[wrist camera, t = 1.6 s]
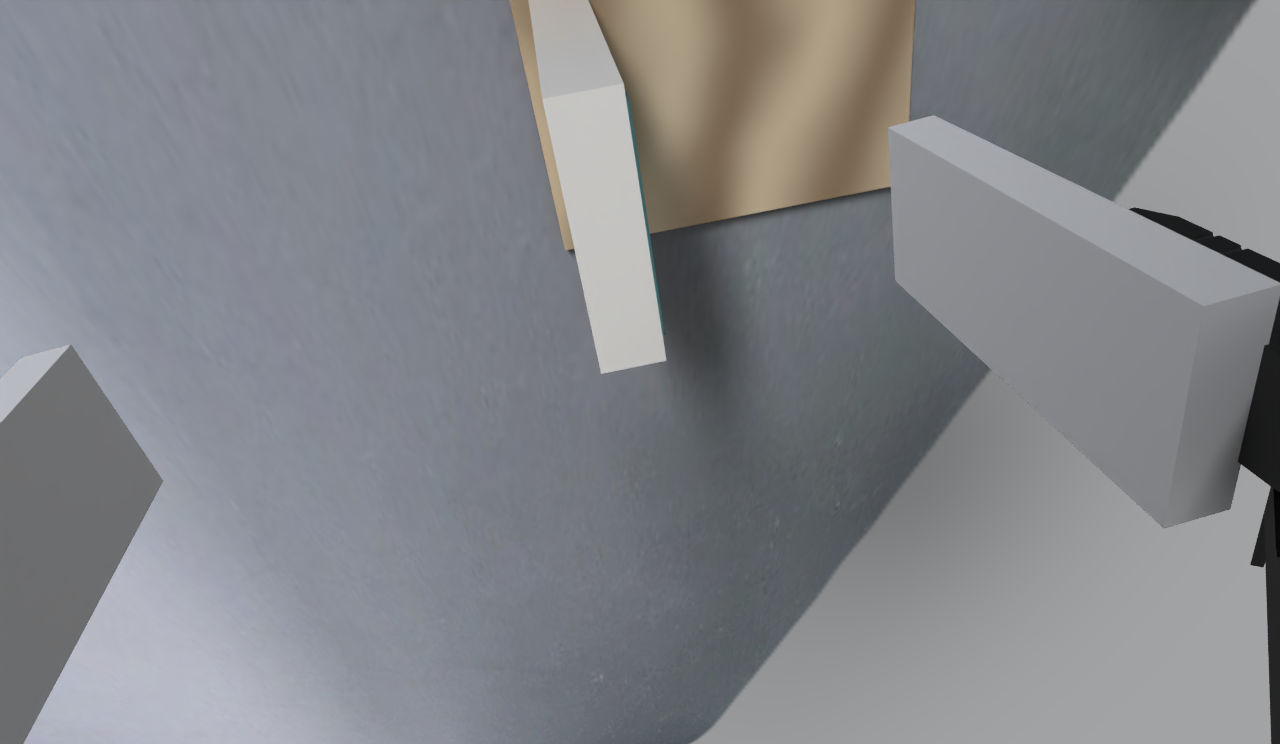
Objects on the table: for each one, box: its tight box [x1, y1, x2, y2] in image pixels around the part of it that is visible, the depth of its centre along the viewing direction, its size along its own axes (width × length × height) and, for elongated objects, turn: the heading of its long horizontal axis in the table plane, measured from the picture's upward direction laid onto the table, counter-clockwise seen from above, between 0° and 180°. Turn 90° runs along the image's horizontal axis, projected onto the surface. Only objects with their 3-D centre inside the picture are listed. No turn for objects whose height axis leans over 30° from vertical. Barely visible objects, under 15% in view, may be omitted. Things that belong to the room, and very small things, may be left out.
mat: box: [509, 0, 915, 250], centre depth 38 cm, size 18×14×1 cm
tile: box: [528, 0, 666, 374], centre depth 32 cm, size 3×10×14 cm, turn 8°
